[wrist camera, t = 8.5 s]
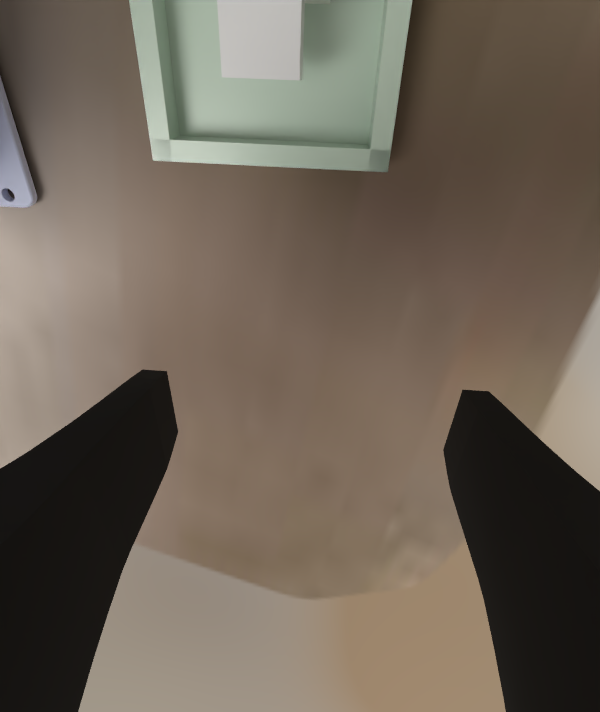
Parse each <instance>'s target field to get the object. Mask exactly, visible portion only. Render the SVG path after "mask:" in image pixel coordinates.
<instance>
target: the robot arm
mask: <svg viewBox="0 0 600 712" xmlns="http://www.w3.org/2000/svg"><path fill="white" fill-rule="evenodd" d="M8 189H10V190H11V191H12V192H13V194H14V196H15V199H13V198H12V197H11V196H10V195H9V193H8ZM36 201H37V194H36V190H35V187H34V184H33V181H32V177H31V174H30V171H29V168H28V164H27V161H26V158H25V155H24V151H23V148H22V145H21V142H20V138H19V135H18V132H17V129H16V125H15V122H14V119H13V116H12V112H11V109H10V106H9V103H8V99H7V96H6V93H5V90H4V86H3V83H2V80H1V77H0V206H1V207H20V208H26V207H30V206H32V205H34V204H35V203H36ZM177 434H178V429H177V424H176V418H175V413H174V407H173V402H172V397H171V391H170V386H169V381H168V375H167V371H155V370H141V371H140V372H139V373H137V374H136V375H134V376H133V377H131V378H130V379H129V380H127V381H126V382H125V383H123V384H122V385H121V386H119V387H118V388H117V389H116V390H114V391H113V392H112V393H110V394H109V395H108V396H106V397H105V398H104V399H102V400H101V401H100V402H98V403H97V404H96V405H94V406H93V407H92V408H90V409H89V410H88V411H86V412H85V413H83V414H82V415H81V416H79V417H78V418H77V419H75V420H74V421H73V422H71V423H70V424H68V425H67V426H65V427H64V428H62V429H61V430H59V431H58V432H56V433H55V434H54V435H52V436H51V437H49V438H48V439H46V440H45V441H43V442H42V443H40V444H39V445H37V446H36V447H34V448H33V449H31V450H30V451H28V452H27V453H25V454H24V455H22V456H21V457H19V458H17V459H16V460H14V461H12V462H11V463H9V464H8V465H6V466H4V467H2V468H1V469H0V712H78V710H79V707H80V703H81V700H82V696H83V693H84V689H85V686H86V682H87V679H88V675H89V672H90V669H91V665H92V662H93V659H94V656H95V652H96V649H97V646H98V643H99V640H100V636H101V633H102V630H103V627H104V624H105V621H106V618H107V614H108V611H109V608H110V606H111V603H112V600H113V597H114V594H115V591H116V588H117V585H118V582H119V579H120V576H121V573H122V570H123V568H124V565H125V563H126V560H127V558H128V555H129V553H130V551H131V548H132V546H133V544H134V542H135V539H136V537H137V535H138V533H139V531H140V528H141V526H142V524H143V522H144V519H145V517H146V515H147V513H148V511H149V508H150V506H151V504H152V502H153V499H154V497H155V495H156V493H157V490H158V488H159V486H160V484H161V481H162V479H163V477H164V474H165V472H166V470H167V467H168V464H169V461H170V458H171V454H172V451H173V448H174V444H175V441H176V437H177ZM444 457H445V463H446V469H447V475H448V480H449V485H450V490H451V493H452V497H453V500H454V503H455V506H456V510H457V513H458V516H459V519H460V523H461V526H462V529H463V532H464V535H465V538H466V542H467V545H468V548H469V551H470V554H471V557H472V561H473V564H474V567H475V570H476V573H477V577H478V579H479V583H480V587H481V591H482V594H483V598H484V602H485V607H486V612H487V616H488V621H489V626H490V631H491V635H492V640H493V645H494V649H495V655H496V660H497V665H498V671H499V676H500V681H501V687H502V691H503V696H504V703H505V709H506V712H600V491H599V490H597V489H596V488H595V487H594V486H593V485H591V484H590V483H589V482H588V481H586V480H585V479H584V478H583V477H582V476H580V475H579V474H578V473H577V472H576V471H574V469H572V468H571V467H570V466H569V465H568V464H567V463H565V462H564V461H563V460H562V459H561V458H560V457H559V456H558V455H557V454H555V453H554V452H553V451H552V450H551V449H550V448H549V447H548V446H546V444H544V443H543V442H542V441H541V440H540V439H539V438H538V437H537V436H536V435H535V434H534V433H533V432H532V431H530V430H529V429H528V428H527V427H526V426H525V425H524V424H523V423H522V422H521V421H520V420H519V419H518V418H517V417H516V416H515V415H514V414H513V413H512V412H510V411H509V410H508V409H507V408H506V407H505V406H504V405H503V404H502V403H501V402H500V401H499V400H498V399H497V398H495V397H494V396H493V395H492V394H491V393H490V392H489V391H473V390H462V393H461V397H460V400H459V403H458V406H457V409H456V412H455V415H454V418H453V422H452V425H451V428H450V431H449V434H448V437H447V440H446V443H445V446H444Z"/></svg>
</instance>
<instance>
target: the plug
mask: <svg viewBox="0 0 600 712" xmlns="http://www.w3.org/2000/svg"><path fill="white" fill-rule="evenodd" d="M305 3H308V4H330V0H217V8H218V24H219V40H220V57H221V73H222V77H224V78H250V79H275V80H302V77H303V43H304V9H305Z"/></svg>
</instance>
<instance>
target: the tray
mask: <svg viewBox="0 0 600 712" xmlns="http://www.w3.org/2000/svg"><path fill="white" fill-rule="evenodd" d="M129 3H130V10H131V17H132V23H133V30H134V37H135V43H136V50H137V57H138V63H139V70H140V77H141V83H142V90H143V97H144V103H145V110H146V117H147V123H148V130H149V137H150V143H151V150H152V157H153V161H171V162H192V163H212V164H232V165H252V166H272V167H292V168H312V169H332V170H352V171H372V172H388V167H389V160H390V153H391V146H392V139H393V132H394V125H395V118H396V111H397V104H398V97H399V90H400V83H401V76H402V69H403V62H404V55H405V48H406V41H407V34H408V27H409V20H410V13H411V6H412V0H330V4H308V3H305V9H304V43H303V77H302V80H275V79H250V78H224V77H222V73H221V57H220V40H219V24H218V8H217V0H129Z"/></svg>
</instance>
